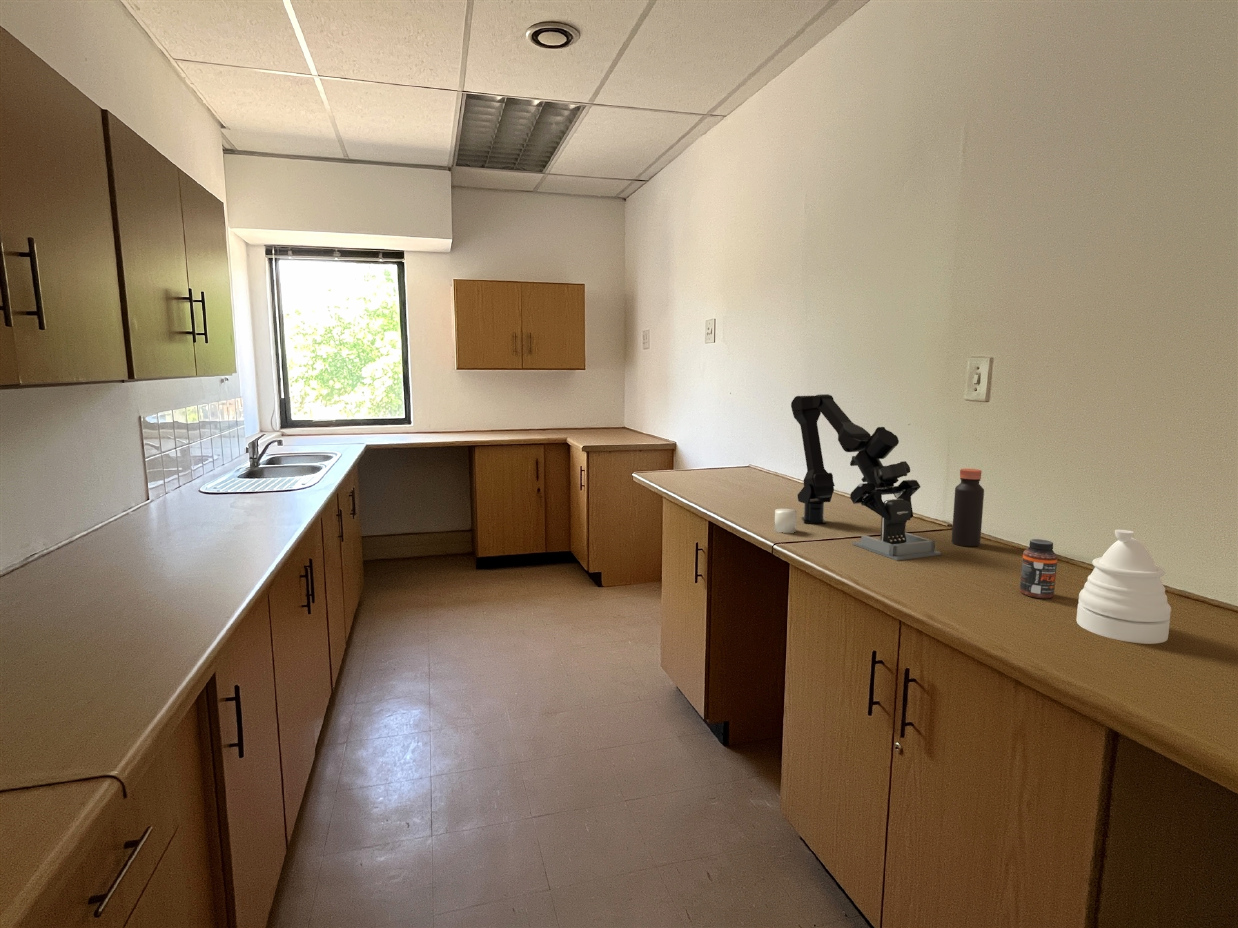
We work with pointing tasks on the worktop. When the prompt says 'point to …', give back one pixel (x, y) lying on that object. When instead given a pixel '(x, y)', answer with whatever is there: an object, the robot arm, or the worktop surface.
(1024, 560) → the supplement bottle
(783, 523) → the white rounded cube
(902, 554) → the tray
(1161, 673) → the worktop surface
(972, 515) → the vinegar
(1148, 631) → the honey pot
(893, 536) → the battery charger
